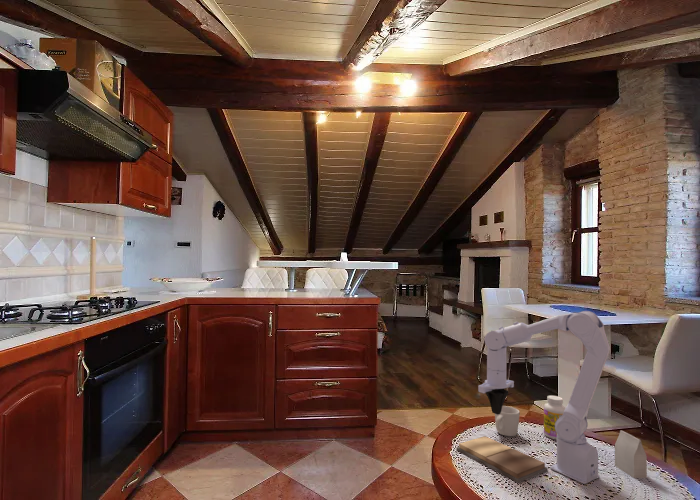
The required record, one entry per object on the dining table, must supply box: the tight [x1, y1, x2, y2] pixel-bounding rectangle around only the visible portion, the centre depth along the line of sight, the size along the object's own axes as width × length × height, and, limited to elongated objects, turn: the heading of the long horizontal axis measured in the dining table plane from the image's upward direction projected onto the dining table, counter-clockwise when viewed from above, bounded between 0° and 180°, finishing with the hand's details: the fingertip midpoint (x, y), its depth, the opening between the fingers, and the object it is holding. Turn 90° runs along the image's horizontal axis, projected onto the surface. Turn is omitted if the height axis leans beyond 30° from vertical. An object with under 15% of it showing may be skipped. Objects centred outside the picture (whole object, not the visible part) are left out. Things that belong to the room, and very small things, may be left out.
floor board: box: [455, 446, 549, 484], centre depth 114 cm, size 21×13×2 cm, turn 32°
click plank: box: [458, 435, 513, 461], centre depth 118 cm, size 10×12×1 cm
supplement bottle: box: [543, 395, 566, 441], centre depth 132 cm, size 7×7×13 cm
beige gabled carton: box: [614, 430, 648, 479], centre depth 109 cm, size 4×7×10 cm, turn 5°
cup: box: [494, 405, 521, 437], centre depth 132 cm, size 11×8×8 cm
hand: (496, 413), depth 122 cm, fingers closed
